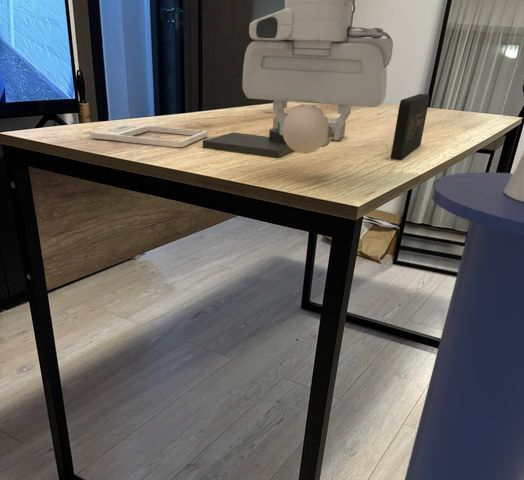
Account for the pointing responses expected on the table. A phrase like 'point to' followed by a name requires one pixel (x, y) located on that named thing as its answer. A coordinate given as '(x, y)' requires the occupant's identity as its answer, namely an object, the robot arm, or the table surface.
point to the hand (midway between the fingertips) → (309, 137)
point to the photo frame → (128, 130)
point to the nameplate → (409, 125)
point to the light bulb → (305, 129)
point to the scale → (251, 143)
